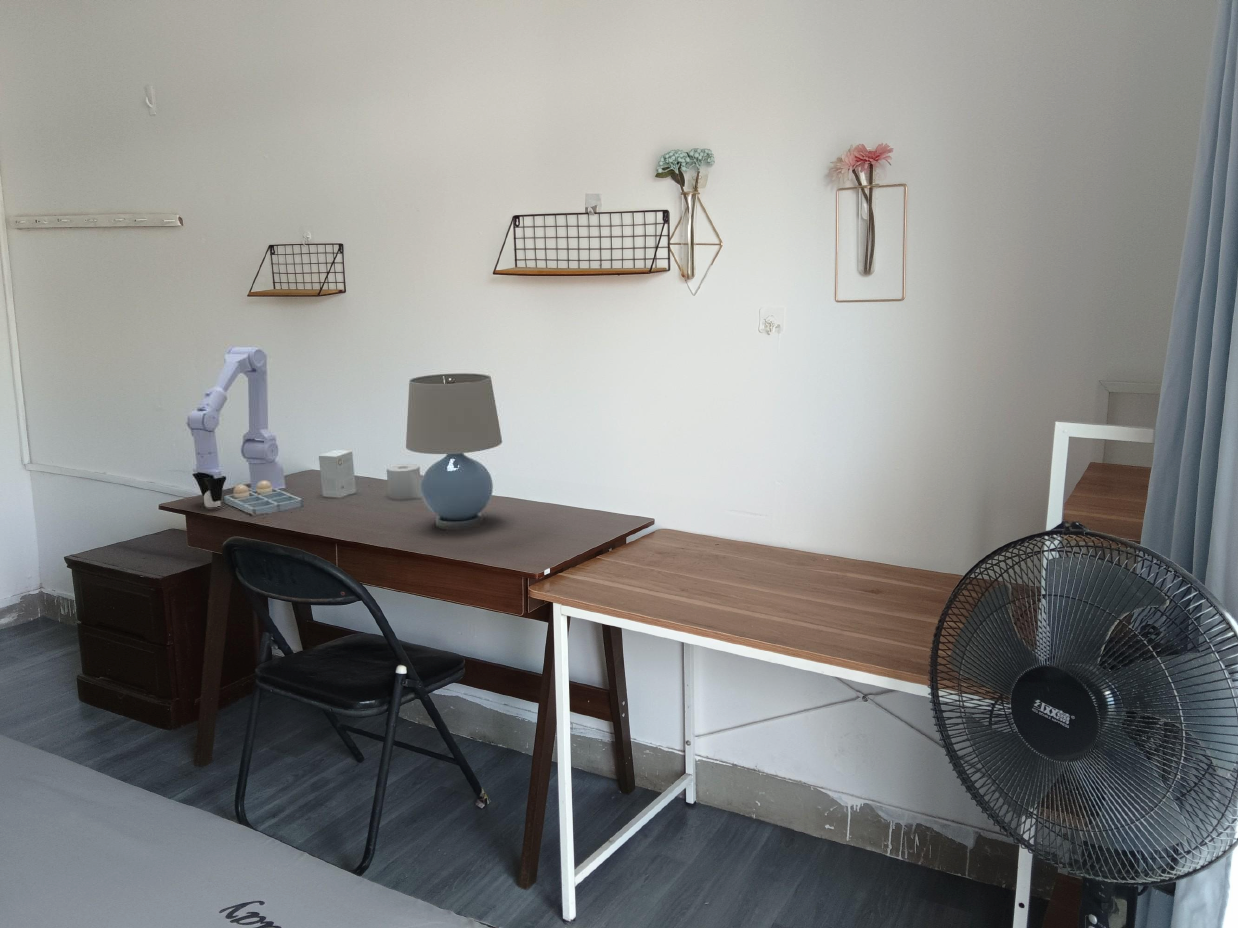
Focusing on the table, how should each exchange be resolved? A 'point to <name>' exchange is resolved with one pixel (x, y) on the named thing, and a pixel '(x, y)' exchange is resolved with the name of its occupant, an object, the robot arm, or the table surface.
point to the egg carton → (265, 502)
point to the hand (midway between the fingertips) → (211, 498)
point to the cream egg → (210, 500)
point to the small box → (337, 473)
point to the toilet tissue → (404, 481)
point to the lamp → (454, 443)
